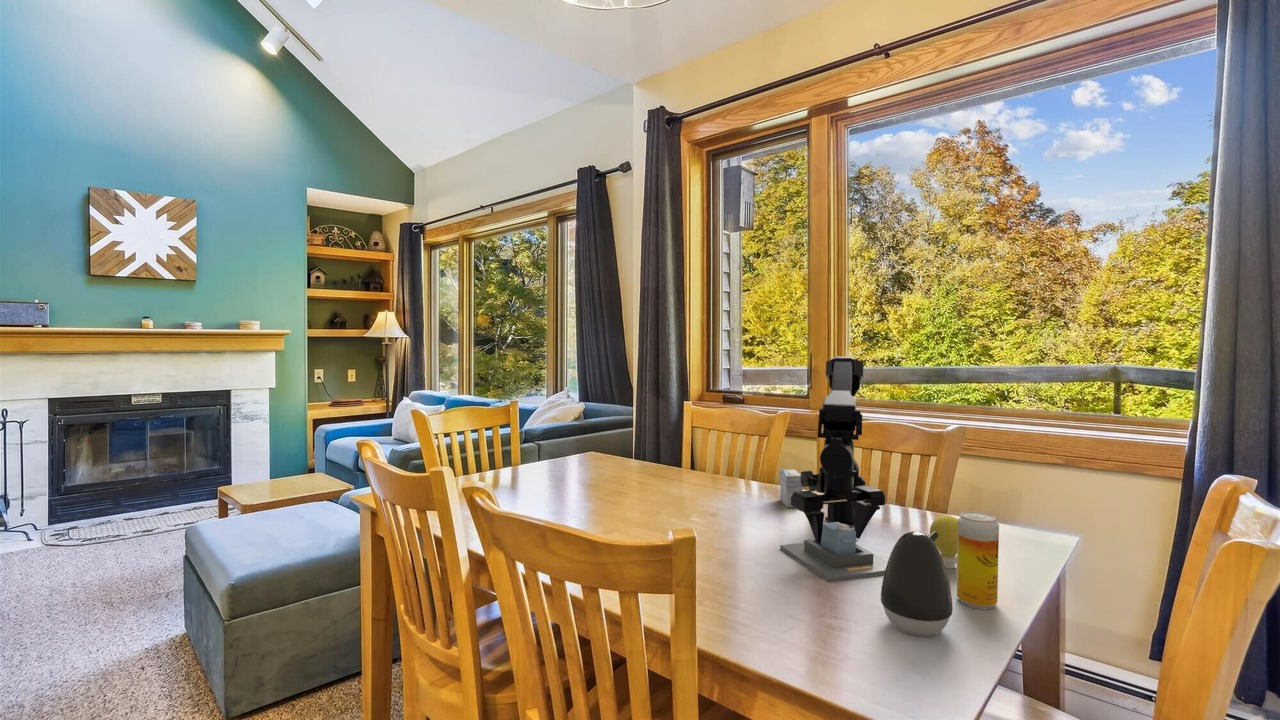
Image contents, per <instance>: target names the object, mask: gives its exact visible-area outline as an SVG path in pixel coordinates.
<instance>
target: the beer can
mask: <svg viewBox="0 0 1280 720" xmlns="http://www.w3.org/2000/svg"><path fill="white" fill-rule="evenodd" d="M957 519H958V548H957V554H956V556H957V563H956V565H957V567H956V596H957V598H958V599H959V601H960V602H961V604H964V605H965V606H967V607H970V608H974V609H978V610H991V609H993V607H994V606H995V605H997V604H998V589H999V588H998V585H999V583H998V582H999V548H1000V547H999V545H1000V544H999V542H1000V539H999V538H1000V524H999V523H998V520H997V517H996V516H994V515H992V514H989V513H985V512H980V511H963V512H961V513H960V515H959V517H958V518H957Z"/></svg>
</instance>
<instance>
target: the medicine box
mask: <svg viewBox="0 0 1280 720" xmlns="http://www.w3.org/2000/svg"><path fill="white" fill-rule="evenodd" d="M779 472H780V473H779V483H780V484H779V497H780V498H779V500H780V501H781V502H782V503H783V505H784V506H785V507H786V508H787V507H794V506H792V505H791V496H792V494H793V493H794V492H797V491H803V487H802V485H801V473H799V472H798V470H796V469H780V470H779Z"/></svg>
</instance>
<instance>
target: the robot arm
mask: <svg viewBox="0 0 1280 720" xmlns="http://www.w3.org/2000/svg"><path fill="white" fill-rule="evenodd" d="M864 373H865V372H864V362H863V361H861V360H858V359H856V357H853V356H838V355H837V356H834V357H831V359H829V360H826V361H825V379H826V380H828V384H829V385H828V386H829V388H830V393H829V394H828V395H826V396H825V397H824V398H823V403H822V407H819V411H818V423H817V424H818V426H817V427H818V428H817V438H819V439H820V438H821V439H825V440H824V441H823V448H822V451H821V453H820V455H819V461H820V462H819V463H820V465H821V466H820V467H819V471H818V472H819V473H815V474H814V473H813V471H812V470H806V471H801V472H800V475H801V485H802V488H808V490H802V491H797V492H794V493H793V494H792V496H791V505H792V506H794V507H796V508H795V509H796V510H799V511H800V512H802V513H804V515H805V517H806V518H807V521H808V523H809V527H810V530H811V532H812V535H813V537H814V538H813V539H815V541H816V542H817V543H820V542H821V538H822V530H823V523H824V519H825V520H826V521H828V522H829V523H832V522H839V523H841V524H847V525H849V527H852V526H854V527H853V530H855V531H856V539H857V540H858V539H861V537H862V535H863V533H864V532H865V530H866V528H867V526H868V524H869V522H870V521H871V519H872V518H873V516H874V515H875V513H876V512H877V511H878V510H881V507H882V506H885V505H886V503H887V502H886V495H885V493H884V491H883V490H882V489H879V488H876V487H873V486H872V485H866V481H865V480H864V478H863V475H861V474H860V466H859V464H858V463H857V461H856V459H855V457H854V456H855V452H854V451H855V450H854V449H855V442H854V441H857V440H858V441H859V440H860V439H859V436H862V435H863V413H861V409H860V408H857V404H856V403H857V399H856V397H855V396H856V394H857V392H858V391H859V390H860V388H861V381H862V380H863V381H864V377H865V375H864ZM854 432H855V434H854ZM815 491H816V492H818V493H823V494H818V493H815ZM824 505H827V516H825V512H824V511H822V509H824Z"/></svg>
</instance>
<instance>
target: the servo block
mask: <svg viewBox="0 0 1280 720" xmlns="http://www.w3.org/2000/svg"><path fill="white" fill-rule="evenodd" d="M857 542H858V539H857V538H856V531H855V530H854V528H851V527H850V526H849V525H847V524H841V523H839V522H823V530H822V538H821V547H823V548H825V549H826V550H828V551H830V552H831V553H833V554H835V555H844V554H852V553H856V544H857Z"/></svg>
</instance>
